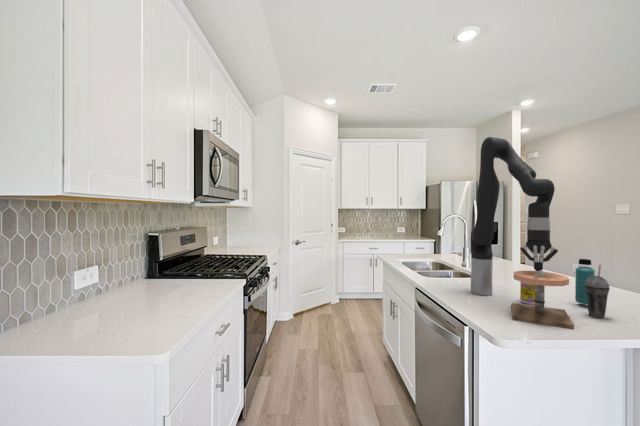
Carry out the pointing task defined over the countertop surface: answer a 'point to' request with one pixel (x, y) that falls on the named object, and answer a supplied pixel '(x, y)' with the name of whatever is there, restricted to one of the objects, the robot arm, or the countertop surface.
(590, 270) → the beverage bottle
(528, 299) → the supplement bottle
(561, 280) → the collar
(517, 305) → the pipe stand
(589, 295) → the beverage cup
